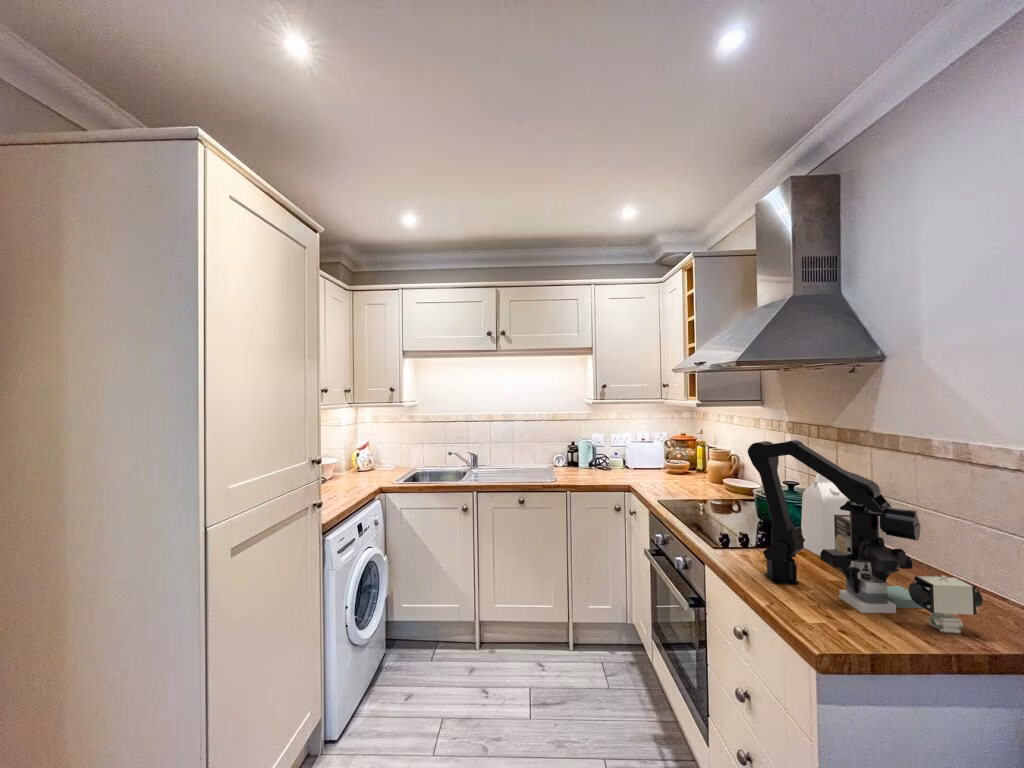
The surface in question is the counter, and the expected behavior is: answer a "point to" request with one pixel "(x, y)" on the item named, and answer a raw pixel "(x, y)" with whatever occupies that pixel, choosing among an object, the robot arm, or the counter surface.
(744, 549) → the counter surface
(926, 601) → the pneumatic valve
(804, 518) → the milk
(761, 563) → the counter surface
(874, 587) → the block
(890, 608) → the stand
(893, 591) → the stand
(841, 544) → the coffee box
